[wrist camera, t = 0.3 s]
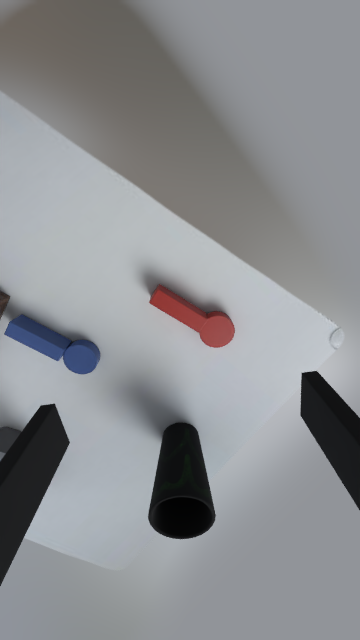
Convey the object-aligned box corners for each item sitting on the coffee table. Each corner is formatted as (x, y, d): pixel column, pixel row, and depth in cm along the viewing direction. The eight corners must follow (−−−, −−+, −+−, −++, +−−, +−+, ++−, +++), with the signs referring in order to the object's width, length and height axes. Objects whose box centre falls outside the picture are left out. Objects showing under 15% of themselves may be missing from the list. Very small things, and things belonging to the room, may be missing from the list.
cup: (173, 461, 43) (172, 547, 32) (146, 431, 41) (134, 512, 29) (214, 441, 41) (227, 524, 30) (188, 409, 39) (192, 485, 28)
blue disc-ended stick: (12, 333, 34) (0, 342, 32) (24, 306, 33) (12, 313, 31) (91, 373, 37) (85, 384, 34) (106, 349, 35) (100, 359, 33)
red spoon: (146, 304, 33) (143, 311, 31) (164, 275, 32) (163, 280, 29) (219, 347, 35) (222, 357, 33) (239, 322, 34) (243, 330, 32)
